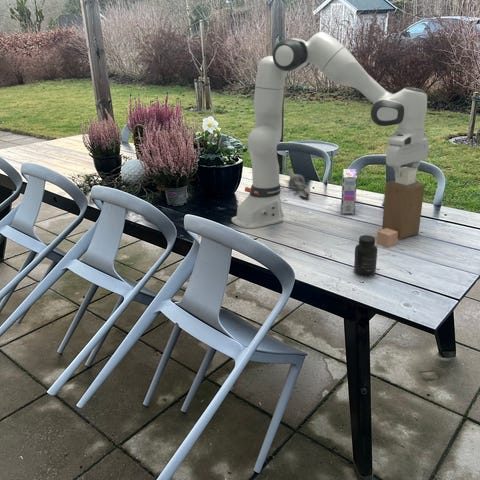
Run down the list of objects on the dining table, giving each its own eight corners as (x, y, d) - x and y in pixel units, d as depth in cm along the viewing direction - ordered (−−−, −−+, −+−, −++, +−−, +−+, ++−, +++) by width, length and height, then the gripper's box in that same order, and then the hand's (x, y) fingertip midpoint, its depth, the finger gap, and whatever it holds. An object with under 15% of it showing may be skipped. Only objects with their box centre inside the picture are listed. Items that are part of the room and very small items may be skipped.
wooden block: (399, 240, 172) (405, 188, 164) (380, 231, 180) (384, 181, 172) (419, 234, 176) (426, 183, 168) (399, 226, 184) (405, 177, 176)
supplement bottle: (350, 268, 153) (353, 234, 148) (371, 266, 154) (374, 232, 149) (357, 277, 147) (359, 242, 142) (378, 276, 147) (381, 241, 142)
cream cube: (407, 185, 167) (408, 171, 165) (395, 182, 170) (396, 169, 168) (415, 182, 169) (416, 169, 167) (403, 179, 173) (404, 166, 171)
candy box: (355, 215, 197) (357, 177, 191) (340, 214, 199) (342, 176, 192) (354, 204, 210) (356, 168, 203) (341, 203, 211) (342, 168, 204)
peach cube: (387, 248, 166) (389, 235, 164) (376, 244, 170) (377, 231, 168) (396, 244, 169) (397, 231, 167) (385, 240, 172) (386, 227, 170)
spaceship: (297, 165, 246) (283, 160, 243) (318, 190, 216) (303, 186, 213) (291, 178, 249) (277, 174, 246) (311, 205, 219) (297, 201, 216)
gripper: (419, 130, 171) (415, 167, 177) (384, 139, 160) (381, 178, 166) (435, 133, 167) (430, 170, 172) (400, 141, 156) (396, 181, 161)
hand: (405, 174), depth 169 cm, fingers open, 8 cm apart
